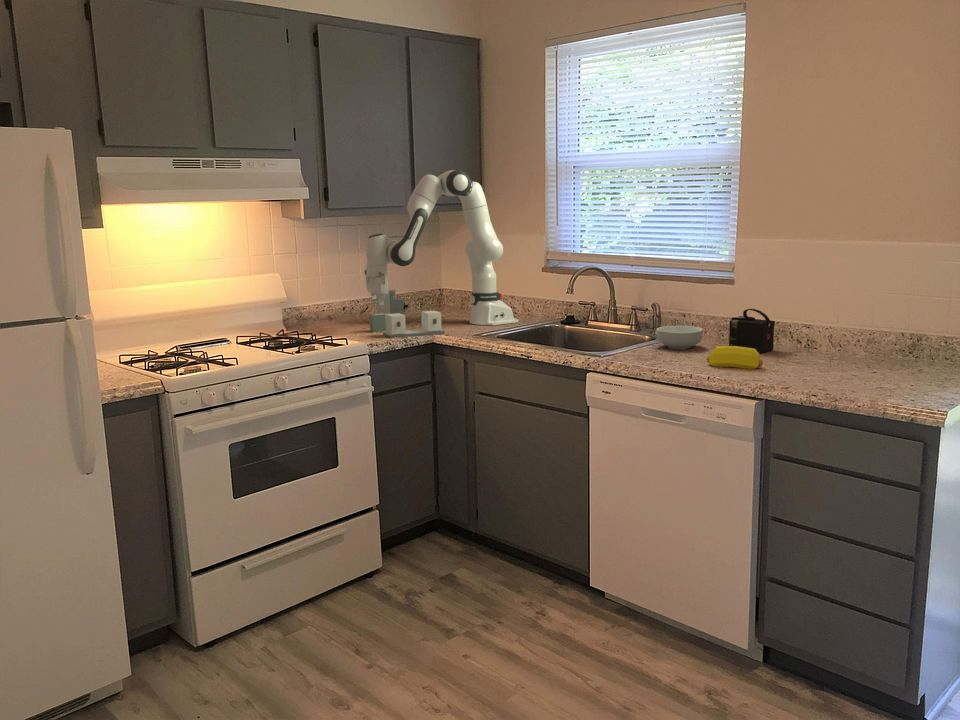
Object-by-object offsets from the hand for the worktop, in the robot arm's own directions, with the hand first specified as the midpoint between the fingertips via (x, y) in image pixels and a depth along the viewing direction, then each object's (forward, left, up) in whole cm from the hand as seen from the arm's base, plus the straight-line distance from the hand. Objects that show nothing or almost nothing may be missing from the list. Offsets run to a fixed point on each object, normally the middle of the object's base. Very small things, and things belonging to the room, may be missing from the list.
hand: (377, 303), depth 356 cm
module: (0, 0, -12) cm, 12 cm away
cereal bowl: (-86, +96, -12) cm, 130 cm away
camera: (-105, +113, -12) cm, 155 cm away
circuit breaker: (-13, -21, -12) cm, 28 cm away
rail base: (-10, +16, -12) cm, 23 cm away
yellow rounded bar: (-79, +134, -12) cm, 156 cm away
